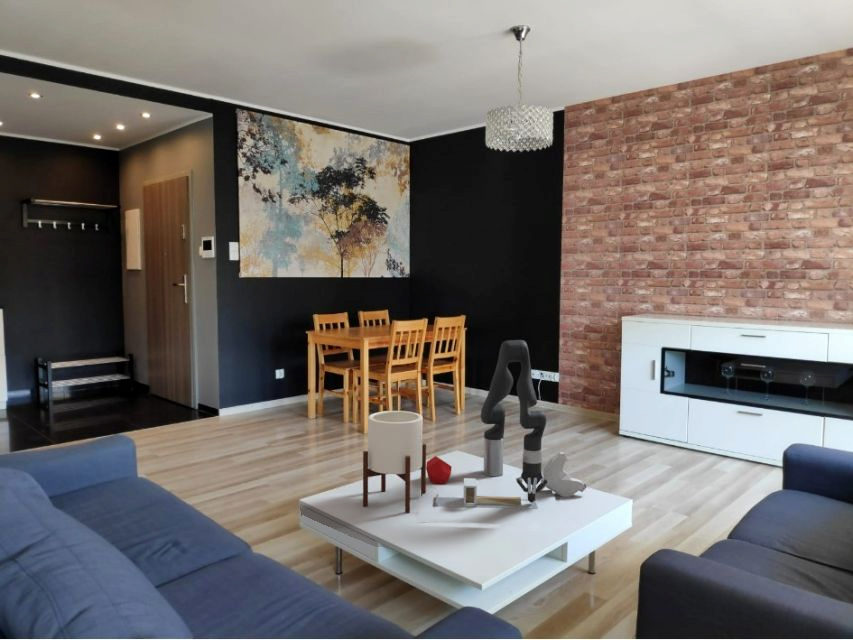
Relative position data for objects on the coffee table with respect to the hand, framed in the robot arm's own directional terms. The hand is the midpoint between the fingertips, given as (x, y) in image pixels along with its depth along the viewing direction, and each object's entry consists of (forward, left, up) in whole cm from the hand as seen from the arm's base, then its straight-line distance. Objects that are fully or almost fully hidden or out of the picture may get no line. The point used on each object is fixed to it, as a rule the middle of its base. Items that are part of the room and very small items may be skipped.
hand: (531, 501), depth 243 cm
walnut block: (0, -25, -1) cm, 25 cm away
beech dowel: (0, -13, -1) cm, 13 cm away
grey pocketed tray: (0, -19, -2) cm, 19 cm away
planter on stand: (-3, -56, -3) cm, 56 cm away
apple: (-29, -39, -3) cm, 49 cm away
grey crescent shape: (-16, +15, -3) cm, 22 cm away
